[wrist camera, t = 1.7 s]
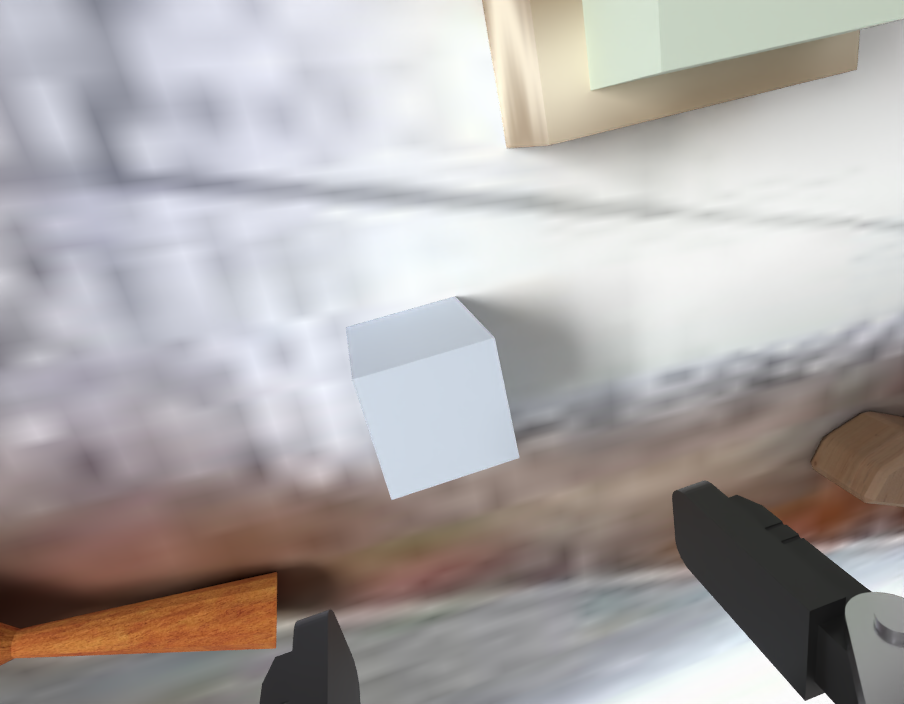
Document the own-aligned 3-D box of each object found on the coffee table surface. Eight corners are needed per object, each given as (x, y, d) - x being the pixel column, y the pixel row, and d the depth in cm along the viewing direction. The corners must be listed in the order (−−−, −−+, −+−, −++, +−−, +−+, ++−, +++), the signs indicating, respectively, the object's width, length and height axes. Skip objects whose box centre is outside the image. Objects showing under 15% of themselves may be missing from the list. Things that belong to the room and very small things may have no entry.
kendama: (274, 708, 24) (-350, 826, 18) (275, 594, 29) (-214, 654, 23) (277, 629, 21) (-465, 735, 15) (277, 517, 26) (-281, 561, 20)
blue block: (345, 327, 23) (352, 379, 17) (454, 296, 23) (494, 337, 18) (377, 424, 25) (391, 499, 19) (477, 393, 25) (519, 457, 20)
